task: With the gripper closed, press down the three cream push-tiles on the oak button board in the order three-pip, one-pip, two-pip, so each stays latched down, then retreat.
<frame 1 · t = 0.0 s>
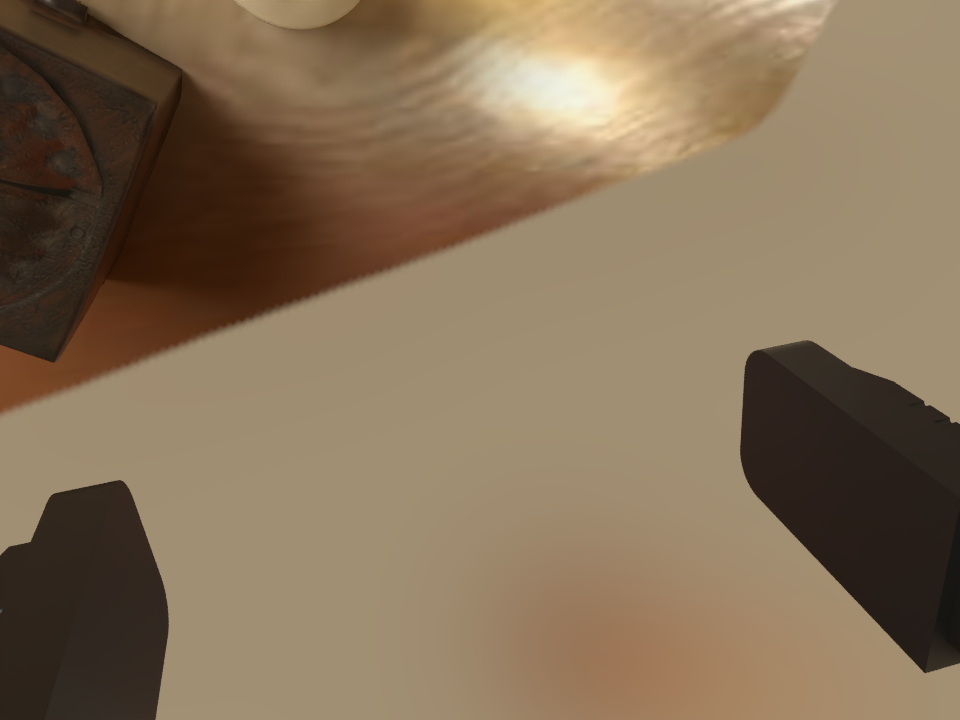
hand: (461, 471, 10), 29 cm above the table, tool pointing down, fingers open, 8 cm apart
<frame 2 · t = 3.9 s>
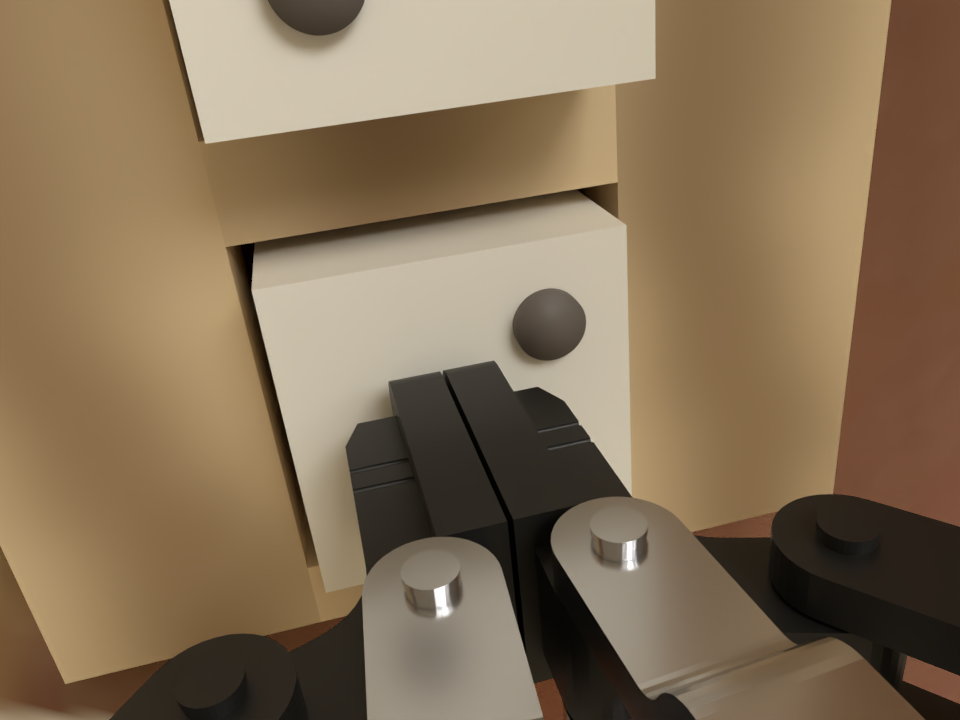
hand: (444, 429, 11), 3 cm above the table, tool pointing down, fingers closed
tile three: (451, 386, 13), point 2 cm above the table, slide at 1.0 cm, touching gripper
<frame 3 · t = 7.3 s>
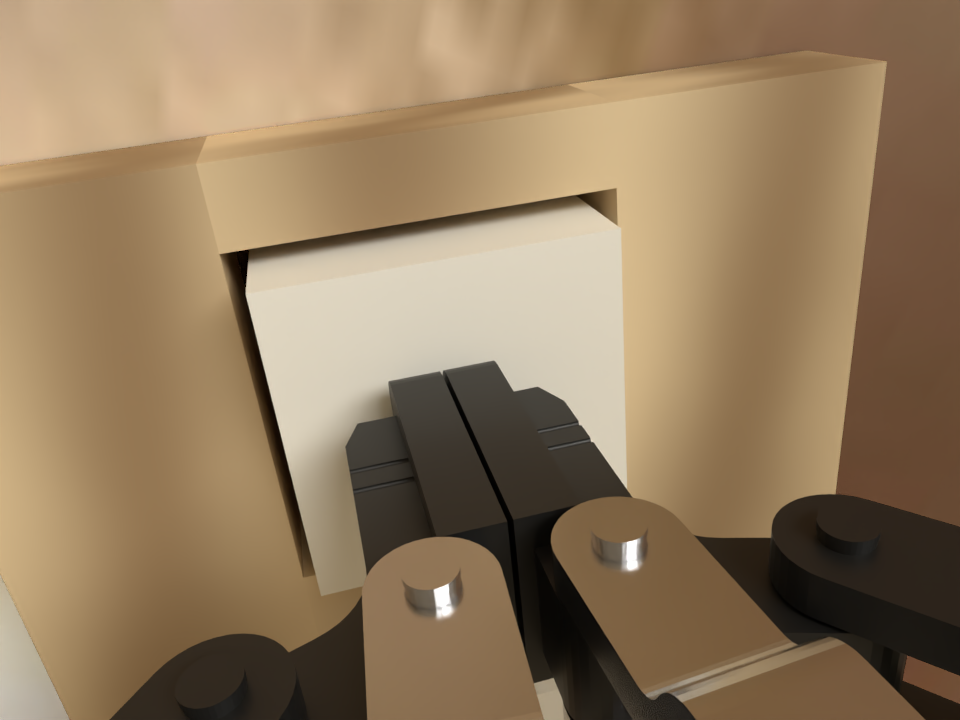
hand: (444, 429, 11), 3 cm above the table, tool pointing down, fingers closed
board: (470, 636, 17), on the table
tile one: (447, 389, 13), point 2 cm above the table, slide at 1.1 cm, touching gripper
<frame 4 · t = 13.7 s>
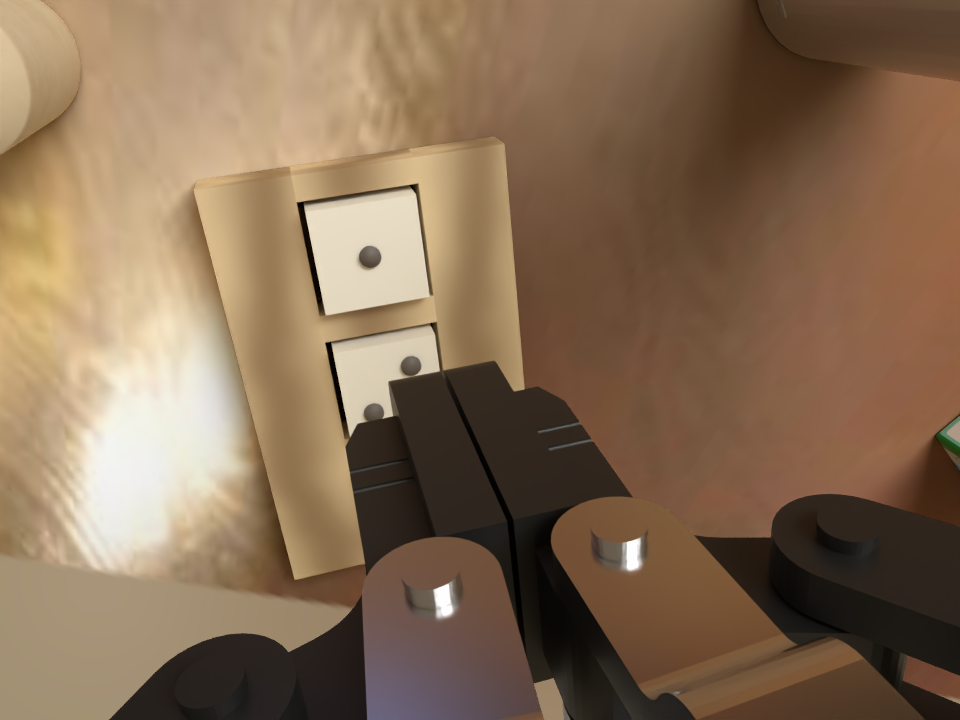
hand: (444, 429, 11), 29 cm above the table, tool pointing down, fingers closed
board: (384, 365, 43), on the table
tile two: (389, 379, 41), point 2 cm above the table, slide at 1.2 cm
tile one: (367, 249, 38), point 2 cm above the table, slide at 1.2 cm
candle: (10, 57, 33), on the table
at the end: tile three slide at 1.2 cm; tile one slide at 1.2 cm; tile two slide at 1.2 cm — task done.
